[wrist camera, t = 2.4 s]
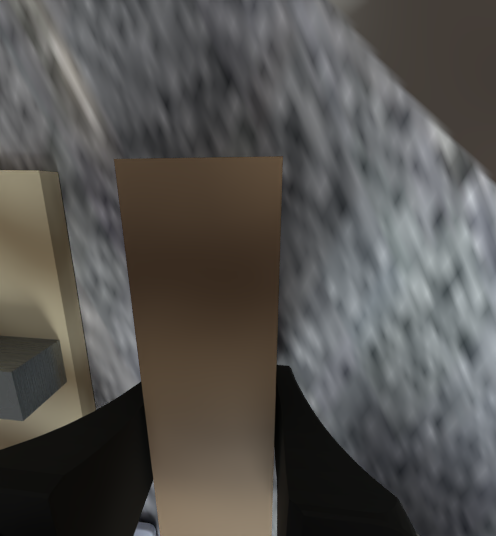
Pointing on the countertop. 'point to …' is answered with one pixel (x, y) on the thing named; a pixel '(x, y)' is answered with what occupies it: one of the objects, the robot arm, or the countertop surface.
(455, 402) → the countertop surface
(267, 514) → the walnut bar
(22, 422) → the balance stand
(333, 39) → the countertop surface
